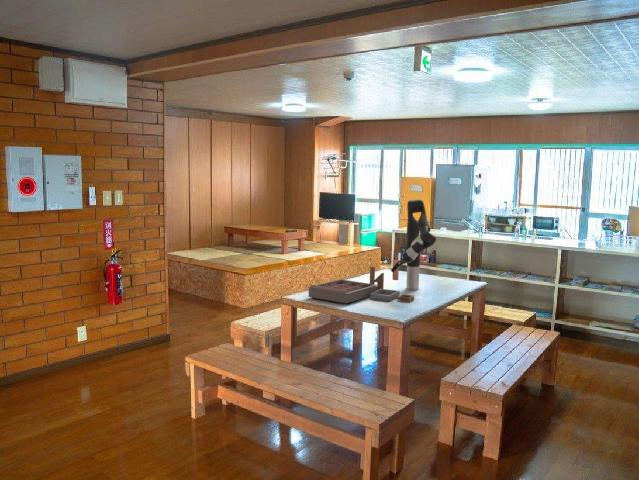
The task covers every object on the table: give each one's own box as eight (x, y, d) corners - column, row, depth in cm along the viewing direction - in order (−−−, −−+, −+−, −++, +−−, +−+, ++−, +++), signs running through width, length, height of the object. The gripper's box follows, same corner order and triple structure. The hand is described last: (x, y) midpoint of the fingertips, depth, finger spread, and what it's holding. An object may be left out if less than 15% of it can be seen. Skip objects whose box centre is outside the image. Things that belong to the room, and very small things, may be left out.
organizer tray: (377, 296, 375) (378, 282, 374) (346, 306, 343) (346, 290, 341) (340, 289, 393) (340, 276, 392) (306, 298, 361) (307, 284, 360)
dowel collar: (401, 298, 366) (402, 294, 366) (414, 300, 362) (414, 295, 362) (397, 300, 359) (397, 296, 358) (410, 302, 355) (410, 298, 354)
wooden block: (381, 292, 385) (381, 268, 383) (368, 290, 391) (368, 266, 389) (383, 291, 388) (384, 267, 386) (370, 290, 394) (371, 265, 392)
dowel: (393, 278, 366) (394, 260, 364) (399, 279, 364) (399, 260, 362) (391, 279, 362) (392, 260, 361) (397, 280, 360) (397, 261, 359)
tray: (380, 294, 379) (381, 288, 379) (399, 296, 373) (399, 290, 373) (370, 299, 362) (370, 293, 361) (389, 301, 355) (389, 296, 355)
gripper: (410, 248, 363) (392, 265, 370) (403, 251, 351) (385, 268, 358) (417, 257, 362) (399, 273, 369) (411, 260, 349) (392, 276, 356)
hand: (392, 270), depth 363 cm, fingers closed on dowel, 4 cm apart
